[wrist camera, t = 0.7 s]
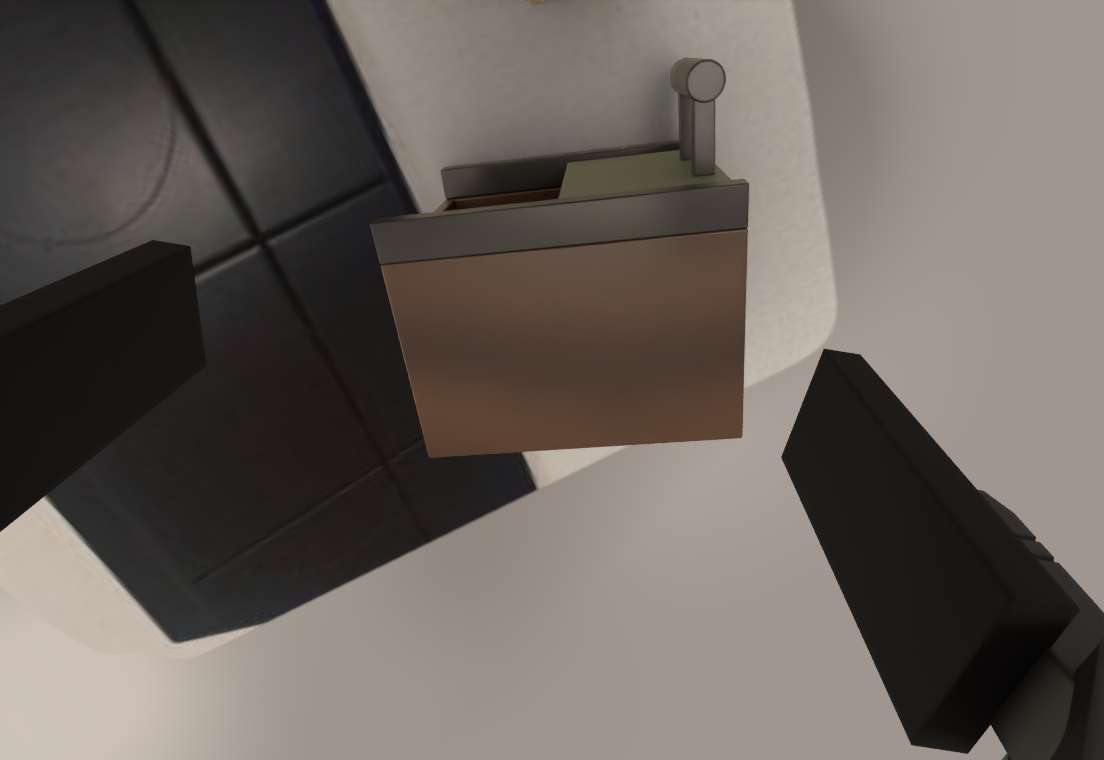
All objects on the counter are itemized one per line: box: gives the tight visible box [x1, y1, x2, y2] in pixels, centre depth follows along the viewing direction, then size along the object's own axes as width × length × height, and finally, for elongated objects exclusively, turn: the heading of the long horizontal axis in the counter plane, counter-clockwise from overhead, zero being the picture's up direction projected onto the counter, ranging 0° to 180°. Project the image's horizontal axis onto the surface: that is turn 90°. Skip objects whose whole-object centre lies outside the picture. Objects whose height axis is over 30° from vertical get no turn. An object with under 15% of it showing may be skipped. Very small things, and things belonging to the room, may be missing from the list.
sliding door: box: [558, 58, 731, 199], centre depth 26 cm, size 5×6×10 cm
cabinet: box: [370, 140, 749, 458], centre depth 29 cm, size 10×13×12 cm
